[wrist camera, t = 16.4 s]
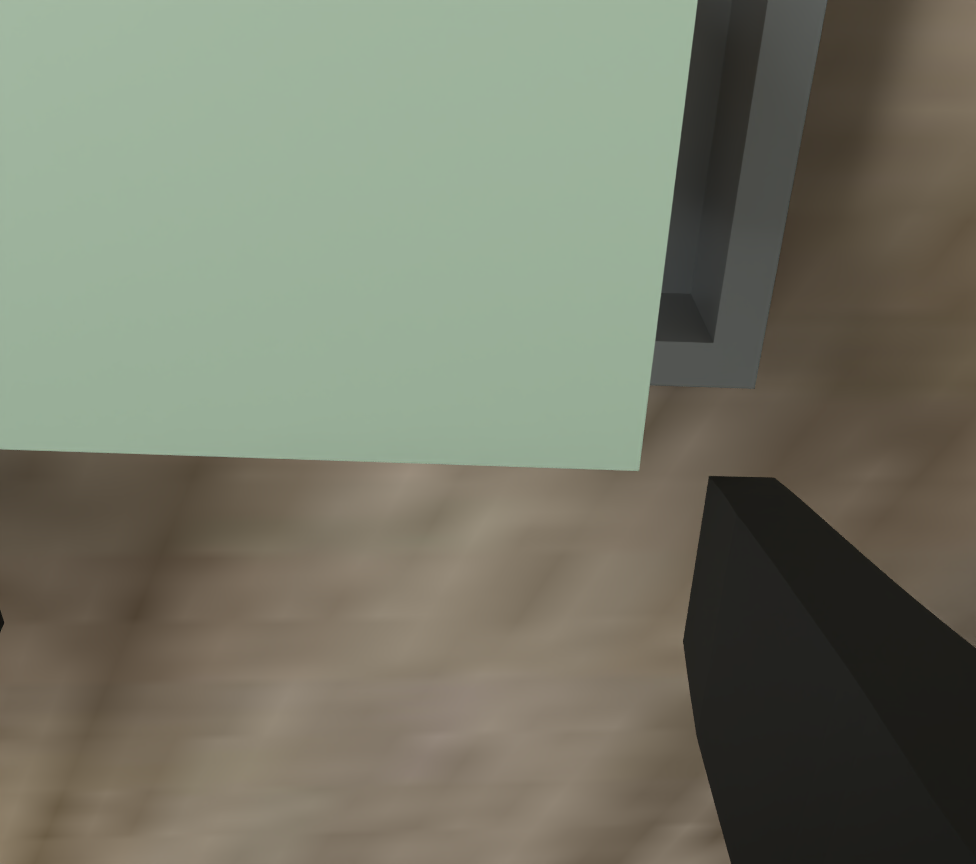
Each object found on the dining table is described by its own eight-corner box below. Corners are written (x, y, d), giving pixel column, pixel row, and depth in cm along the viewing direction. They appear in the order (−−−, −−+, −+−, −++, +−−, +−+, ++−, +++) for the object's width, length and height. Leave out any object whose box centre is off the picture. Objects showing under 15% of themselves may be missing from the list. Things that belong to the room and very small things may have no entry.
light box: (588, 246, 11) (639, 469, 7) (166, 232, 11) (-59, 447, 7) (632, -283, 9) (755, -476, 4) (87, -298, 9) (-351, -507, 4)
